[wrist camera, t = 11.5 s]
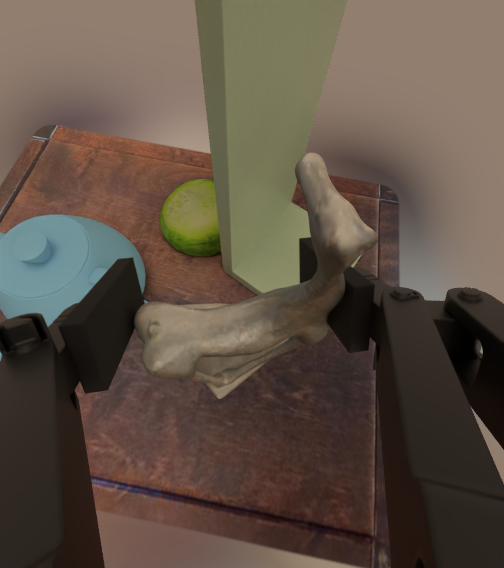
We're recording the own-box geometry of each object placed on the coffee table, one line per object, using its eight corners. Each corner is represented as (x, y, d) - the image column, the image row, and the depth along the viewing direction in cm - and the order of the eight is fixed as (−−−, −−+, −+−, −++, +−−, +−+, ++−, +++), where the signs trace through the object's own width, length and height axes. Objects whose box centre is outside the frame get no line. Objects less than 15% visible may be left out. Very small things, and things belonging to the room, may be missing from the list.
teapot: (185, 266, 40) (164, 211, 28) (112, 416, 33) (42, 427, 21) (58, 221, 42) (-12, 151, 30) (-39, 355, 35) (-181, 333, 23)
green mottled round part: (226, 185, 45) (225, 161, 41) (253, 242, 42) (254, 223, 37) (154, 206, 44) (144, 183, 39) (175, 268, 40) (167, 252, 35)
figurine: (134, 389, 19) (-159, 359, 5) (156, 295, 21) (2, 97, 7) (302, 408, 19) (482, 431, 5) (306, 312, 21) (434, 147, 7)
